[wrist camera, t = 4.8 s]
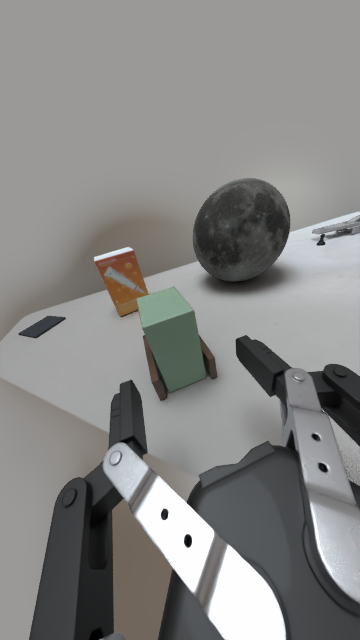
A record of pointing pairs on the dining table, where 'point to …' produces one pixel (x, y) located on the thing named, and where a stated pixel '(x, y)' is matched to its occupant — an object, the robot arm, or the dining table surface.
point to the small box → (122, 279)
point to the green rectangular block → (172, 337)
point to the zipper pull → (342, 227)
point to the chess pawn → (321, 240)
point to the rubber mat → (41, 326)
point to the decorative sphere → (241, 229)
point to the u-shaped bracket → (155, 372)
